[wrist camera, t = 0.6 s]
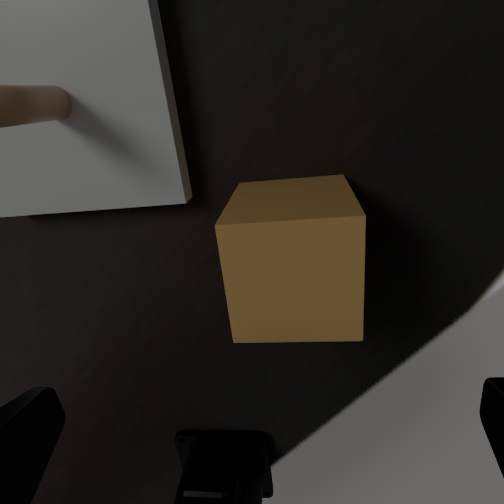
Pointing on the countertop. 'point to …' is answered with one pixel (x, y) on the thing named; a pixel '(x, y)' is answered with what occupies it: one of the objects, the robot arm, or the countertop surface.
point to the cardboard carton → (294, 260)
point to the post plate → (87, 108)
